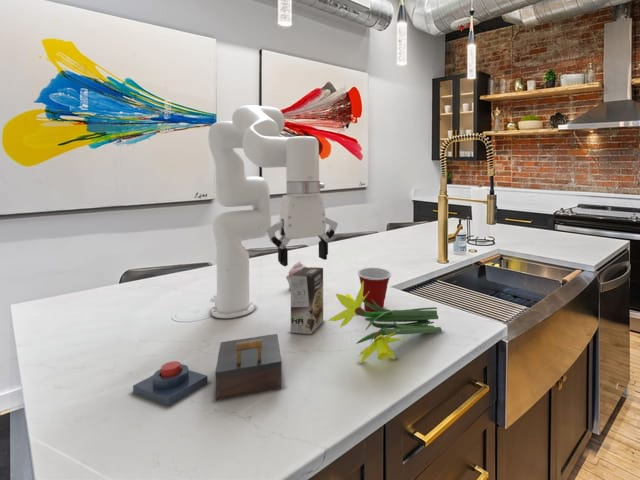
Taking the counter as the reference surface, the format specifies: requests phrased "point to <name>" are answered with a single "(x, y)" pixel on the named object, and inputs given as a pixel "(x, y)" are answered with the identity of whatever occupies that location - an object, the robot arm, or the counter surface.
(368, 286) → the plastic cup
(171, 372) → the red push button
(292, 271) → the cupcake
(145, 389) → the blue button base
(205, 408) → the counter surface
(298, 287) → the coffee box
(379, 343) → the daffodil flowers
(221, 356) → the dark slab with handle
